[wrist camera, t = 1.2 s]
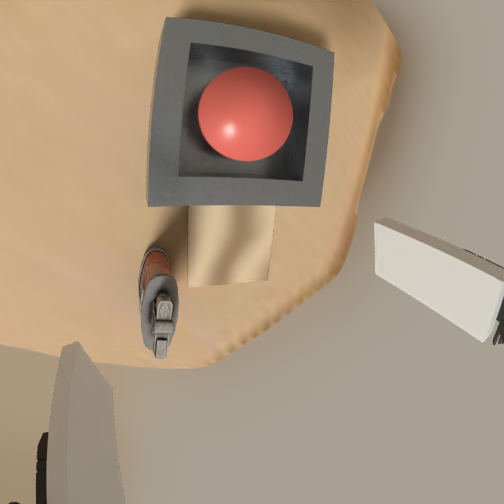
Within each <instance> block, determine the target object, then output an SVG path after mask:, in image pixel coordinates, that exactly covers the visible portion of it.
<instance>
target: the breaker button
mask: <svg viewBox="0 0 504 504" xmlns="http://www.w3.org/2000/svg"><path fill="white" fill-rule="evenodd" d="M197 120H198V125H199V129H200V131H201V134H202V135H203V137H204V139H205V140H206V142H207V143H208V144H209V145H210V146H211V147H212V148H213V149H214V150H215V151H216V152H218V153H219V154H221V155H223V156H225V157H227V158H230V159H234V160H240V161H256V160H260V159H263V158H266V157H268V156H270V155H271V154H273V153H274V152H276V151H277V150H278V149H279V148H280V147H281V146H282V145H283V144H284V142H285V141H286V139H287V137H288V135H289V133H290V131H291V127H292V122H293V108H292V103H291V100H290V97H289V95H288V93H287V91H286V90H285V88H284V87H283V85H282V84H281V83H280V82H279V81H278V80H277V79H276V78H275V77H273V76H272V75H271V74H269V73H267V72H265V71H263V70H260V69H257V68H252V67H238V68H233V69H230V70H227V71H225V72H223V73H221V74H220V75H218V76H217V77H215V78H214V79H213V80H212V81H211V82H210V83H209V84H208V85H207V86H206V87H205V89H204V90H203V92H202V94H201V96H200V99H199V102H198V107H197Z"/></svg>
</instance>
